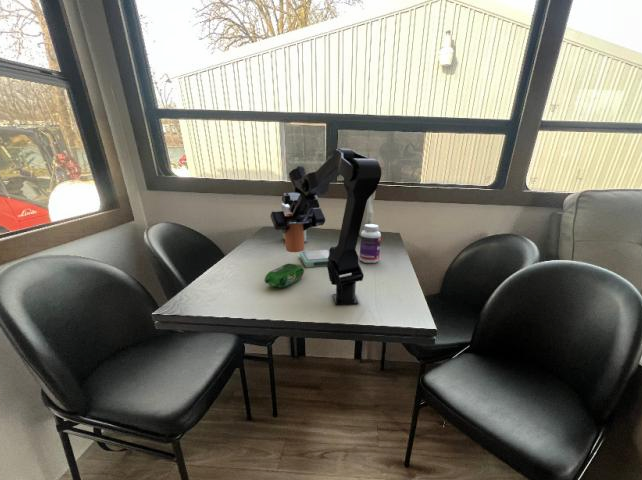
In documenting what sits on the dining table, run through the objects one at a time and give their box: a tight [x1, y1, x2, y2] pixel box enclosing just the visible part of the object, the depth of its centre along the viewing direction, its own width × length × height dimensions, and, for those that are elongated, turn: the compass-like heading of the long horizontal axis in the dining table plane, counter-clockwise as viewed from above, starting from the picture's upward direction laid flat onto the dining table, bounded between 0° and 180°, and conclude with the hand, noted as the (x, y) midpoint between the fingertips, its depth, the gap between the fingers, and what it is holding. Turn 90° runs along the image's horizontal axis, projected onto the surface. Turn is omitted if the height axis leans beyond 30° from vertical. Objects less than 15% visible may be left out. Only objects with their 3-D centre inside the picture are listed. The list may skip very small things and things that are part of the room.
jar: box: [284, 213, 305, 253], centre depth 109 cm, size 7×7×13 cm
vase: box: [359, 190, 377, 237], centre depth 151 cm, size 9×8×30 cm
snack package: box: [264, 263, 305, 288], centre depth 97 cm, size 7×16×5 cm, turn 153°
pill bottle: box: [359, 224, 382, 264], centre depth 118 cm, size 8×8×14 cm
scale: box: [299, 249, 329, 268], centre depth 118 cm, size 12×12×3 cm
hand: (292, 231), depth 110 cm, fingers closed on jar, 7 cm apart
